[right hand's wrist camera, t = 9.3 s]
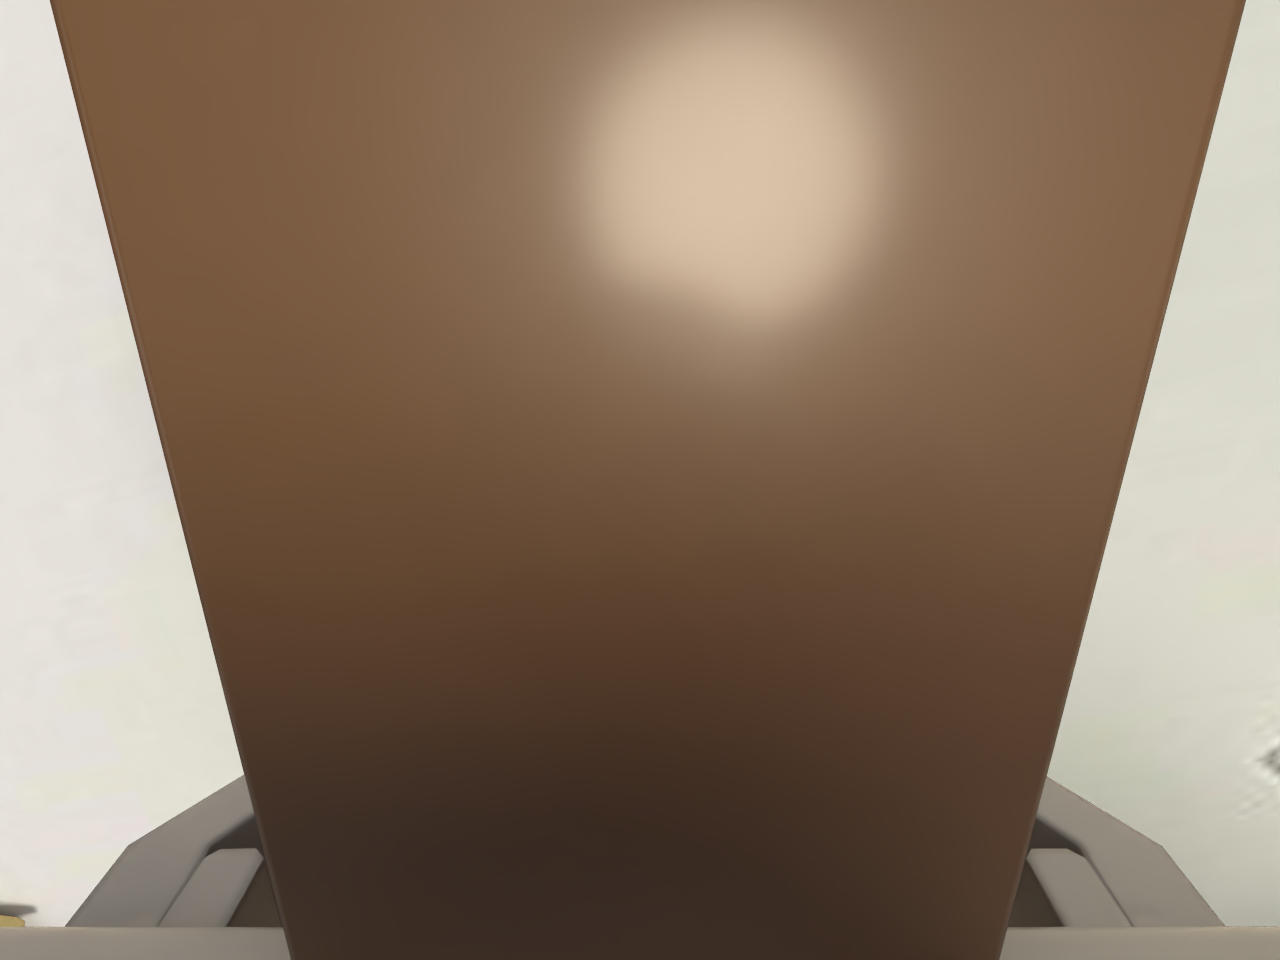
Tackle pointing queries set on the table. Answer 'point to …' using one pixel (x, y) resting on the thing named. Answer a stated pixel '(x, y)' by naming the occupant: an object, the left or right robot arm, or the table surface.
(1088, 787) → the table surface
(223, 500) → the bar
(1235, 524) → the table surface
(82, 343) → the table surface
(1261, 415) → the table surface
